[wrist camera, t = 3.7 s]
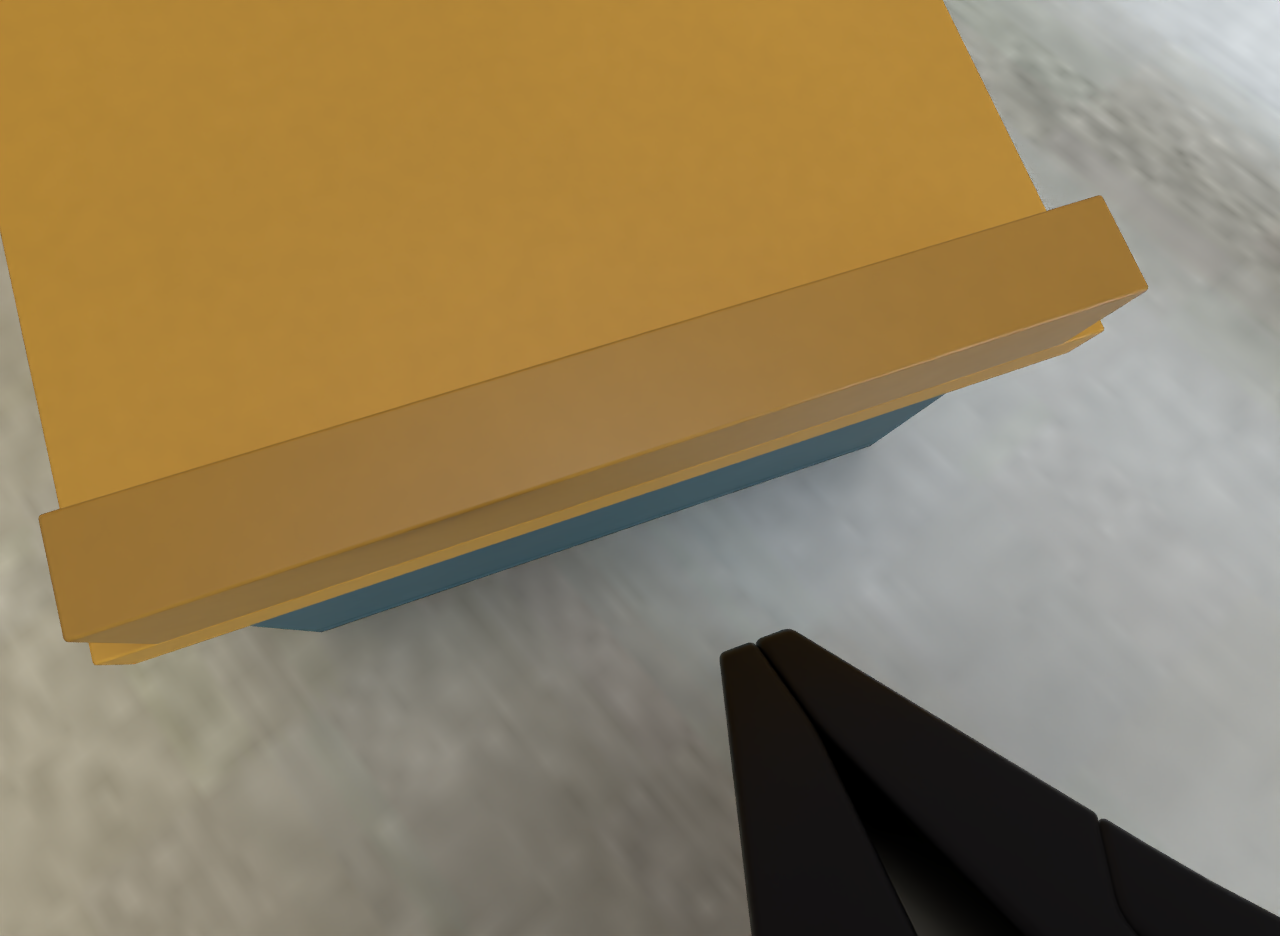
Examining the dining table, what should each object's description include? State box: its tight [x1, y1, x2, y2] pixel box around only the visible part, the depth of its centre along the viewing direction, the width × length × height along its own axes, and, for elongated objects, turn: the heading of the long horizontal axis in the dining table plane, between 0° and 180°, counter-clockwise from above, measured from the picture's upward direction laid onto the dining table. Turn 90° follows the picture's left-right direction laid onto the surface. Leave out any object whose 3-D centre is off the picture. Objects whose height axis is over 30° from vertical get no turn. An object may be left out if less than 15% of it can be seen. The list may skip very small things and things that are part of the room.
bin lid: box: [0, 0, 1148, 665], centre depth 13 cm, size 14×16×3 cm
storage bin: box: [250, 394, 944, 632], centre depth 18 cm, size 13×15×8 cm
